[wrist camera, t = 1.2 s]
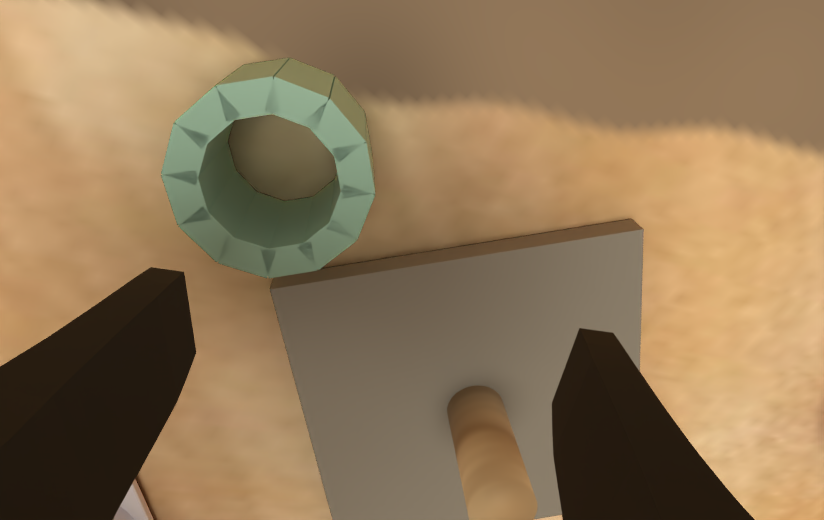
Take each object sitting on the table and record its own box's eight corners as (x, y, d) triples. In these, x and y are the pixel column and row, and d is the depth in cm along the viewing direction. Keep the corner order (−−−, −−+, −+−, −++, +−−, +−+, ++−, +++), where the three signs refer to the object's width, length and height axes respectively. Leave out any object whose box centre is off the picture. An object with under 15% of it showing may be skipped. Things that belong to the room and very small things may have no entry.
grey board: (341, 532, 27) (341, 551, 26) (273, 276, 22) (269, 289, 21) (626, 484, 27) (636, 502, 26) (631, 218, 22) (643, 229, 21)
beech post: (450, 435, 24) (472, 541, 19) (444, 390, 23) (465, 491, 19) (505, 426, 24) (539, 529, 19) (500, 381, 23) (535, 479, 19)
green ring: (226, 235, 21) (198, 289, 17) (179, 75, 18) (135, 97, 15) (382, 210, 21) (386, 259, 17) (353, 47, 19) (352, 63, 15)
